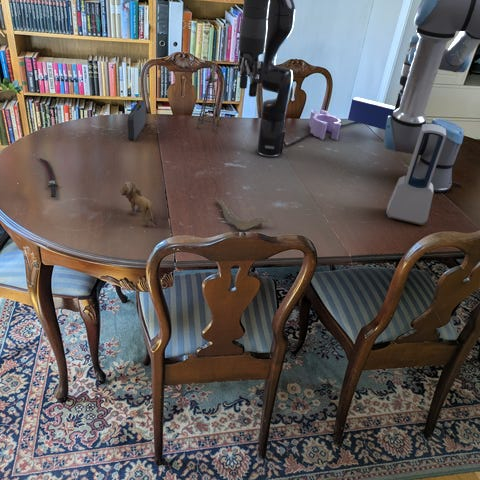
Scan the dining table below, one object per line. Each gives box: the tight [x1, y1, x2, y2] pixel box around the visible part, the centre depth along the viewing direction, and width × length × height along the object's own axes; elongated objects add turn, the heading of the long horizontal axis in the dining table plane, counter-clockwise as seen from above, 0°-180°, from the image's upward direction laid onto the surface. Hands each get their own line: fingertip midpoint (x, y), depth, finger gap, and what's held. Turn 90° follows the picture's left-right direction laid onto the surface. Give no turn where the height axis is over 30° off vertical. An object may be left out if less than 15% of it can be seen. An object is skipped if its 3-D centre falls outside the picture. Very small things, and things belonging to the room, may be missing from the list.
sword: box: [40, 158, 59, 198], centre depth 151 cm, size 31×3×1 cm, turn 26°
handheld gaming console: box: [127, 99, 147, 141], centre depth 190 cm, size 23×3×10 cm, turn 178°
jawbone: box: [216, 198, 270, 232], centre depth 140 cm, size 9×20×2 cm, turn 50°
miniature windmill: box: [196, 55, 220, 132], centre depth 197 cm, size 9×8×30 cm
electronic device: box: [386, 124, 446, 226], centre depth 142 cm, size 12×8×30 cm, turn 71°
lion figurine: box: [119, 181, 159, 227], centre depth 134 cm, size 15×5×9 cm, turn 50°
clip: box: [308, 109, 342, 141], centre depth 212 cm, size 20×12×7 cm, turn 11°
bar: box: [347, 96, 396, 130], centre depth 209 cm, size 25×5×10 cm, turn 58°
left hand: (247, 92), depth 141 cm, fingers open, 8 cm apart
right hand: (395, 129), depth 207 cm, fingers closed on bar, 5 cm apart
